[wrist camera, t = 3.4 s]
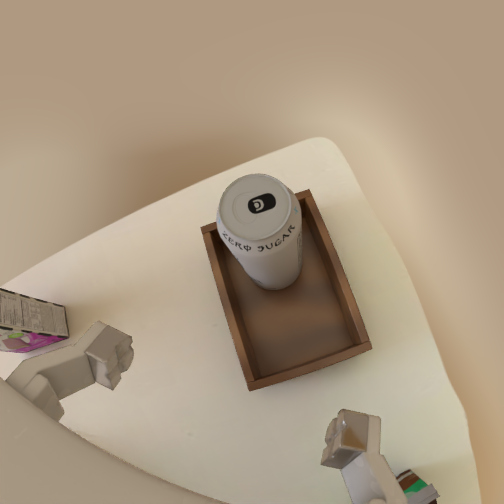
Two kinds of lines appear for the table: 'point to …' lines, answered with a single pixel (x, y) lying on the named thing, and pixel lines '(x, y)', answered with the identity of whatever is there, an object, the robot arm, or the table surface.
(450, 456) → the table surface
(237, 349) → the wooden tray
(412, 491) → the food container
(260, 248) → the energy drink can
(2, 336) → the candy bar box
